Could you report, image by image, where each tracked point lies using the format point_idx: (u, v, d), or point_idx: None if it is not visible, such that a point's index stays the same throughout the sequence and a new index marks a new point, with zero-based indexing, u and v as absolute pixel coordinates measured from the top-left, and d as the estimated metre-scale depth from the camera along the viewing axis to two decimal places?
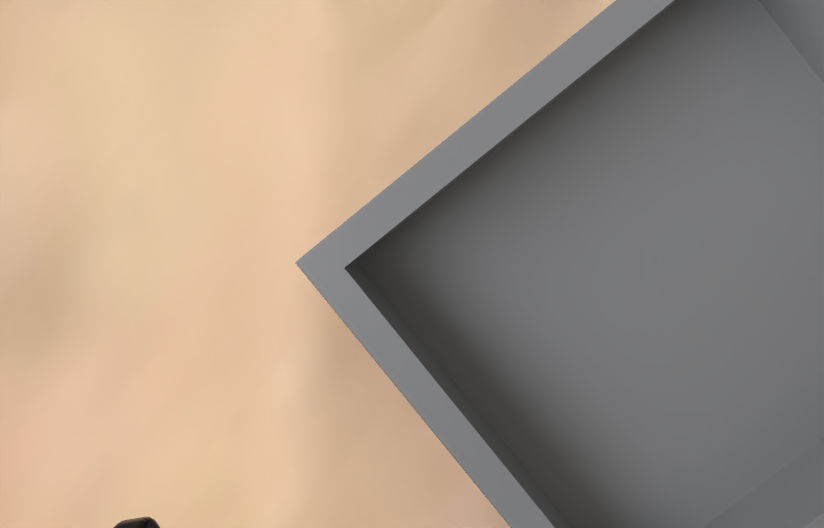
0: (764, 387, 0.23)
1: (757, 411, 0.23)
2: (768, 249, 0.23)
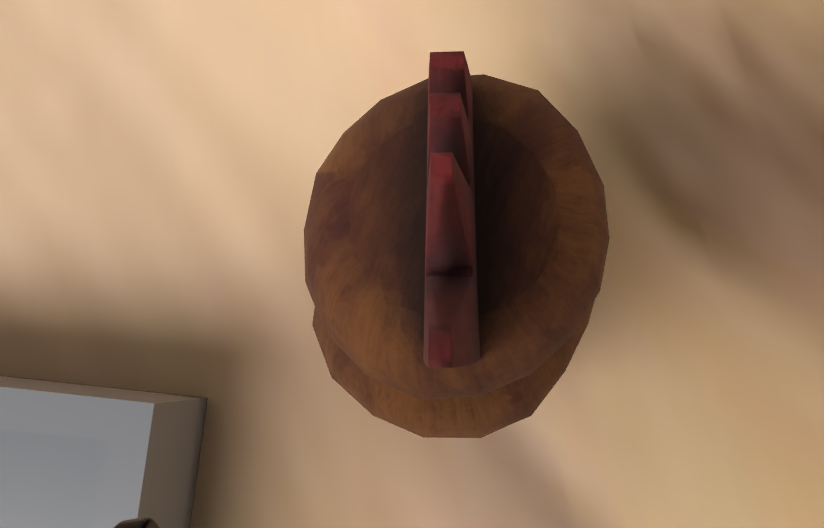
0: None
1: None
2: None
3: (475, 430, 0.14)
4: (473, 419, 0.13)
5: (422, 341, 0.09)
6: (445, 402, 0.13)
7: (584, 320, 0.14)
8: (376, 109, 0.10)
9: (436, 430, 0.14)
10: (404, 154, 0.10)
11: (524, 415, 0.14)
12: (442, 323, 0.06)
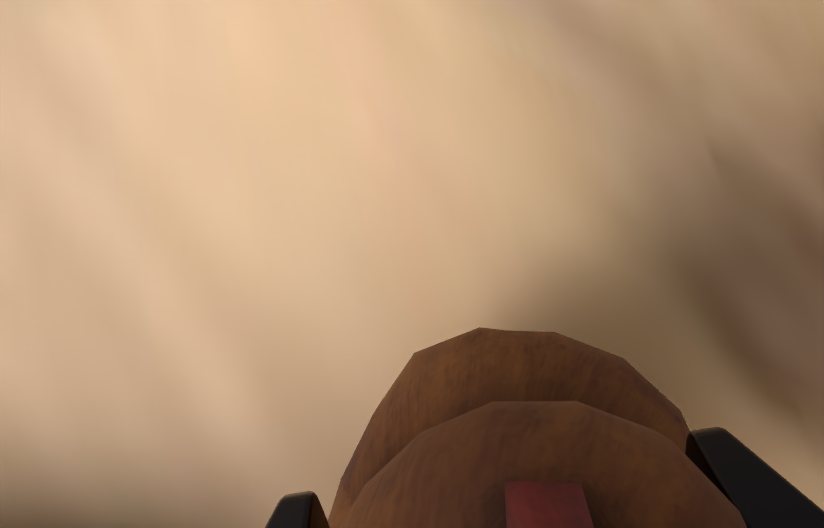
0: None
1: None
2: None
3: None
4: None
5: None
6: None
7: None
8: (415, 502, 0.06)
9: None
10: None
11: None
12: None
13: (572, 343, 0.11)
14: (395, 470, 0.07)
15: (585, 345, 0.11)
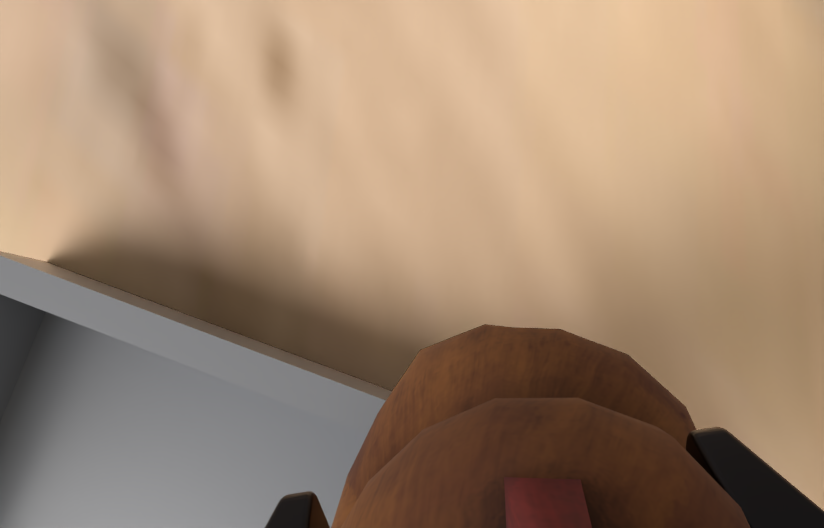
0: None
1: None
2: (225, 524, 0.22)
3: None
4: None
5: None
6: None
7: None
8: (416, 498, 0.06)
9: None
10: None
11: None
12: None
13: (577, 339, 0.11)
14: (397, 466, 0.07)
15: (590, 341, 0.11)
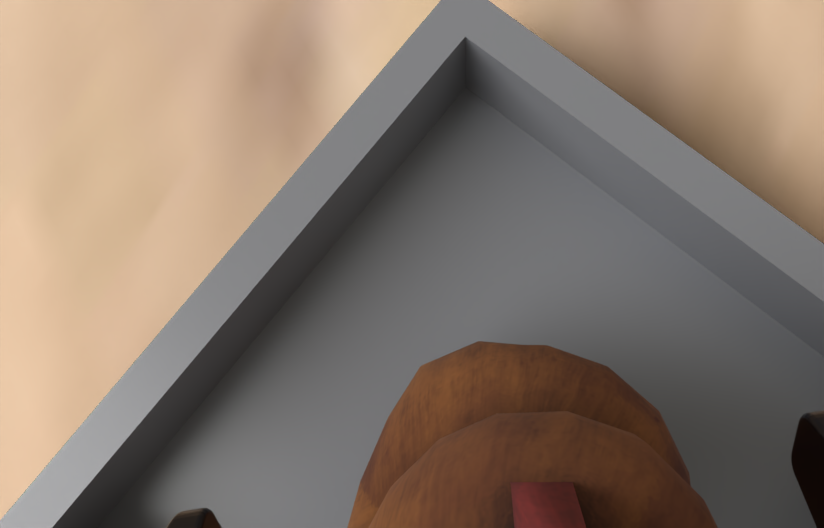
0: None
1: None
2: None
3: None
4: None
5: None
6: None
7: None
8: (437, 502, 0.07)
9: None
10: None
11: None
12: None
13: (562, 354, 0.12)
14: (418, 475, 0.08)
15: (574, 355, 0.12)
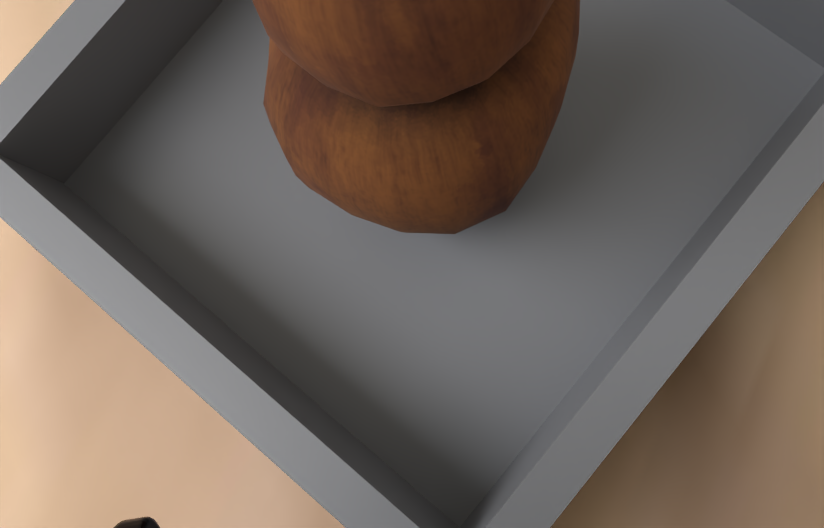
0: (574, 225, 0.18)
1: (574, 256, 0.18)
2: None
3: (443, 192, 0.12)
4: (439, 175, 0.12)
5: None
6: (407, 148, 0.12)
7: (560, 68, 0.12)
8: None
9: (399, 193, 0.12)
10: None
11: (497, 184, 0.13)
12: None
13: None
14: None
15: None
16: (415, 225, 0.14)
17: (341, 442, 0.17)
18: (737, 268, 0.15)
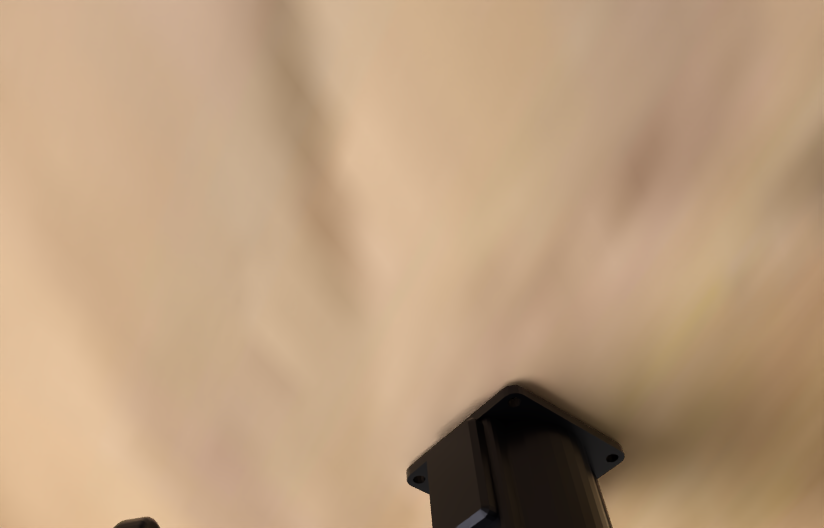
0: None
1: None
2: None
3: None
4: None
5: None
6: None
7: None
8: None
9: None
10: None
11: None
12: None
13: None
14: None
15: None
16: None
17: None
18: None
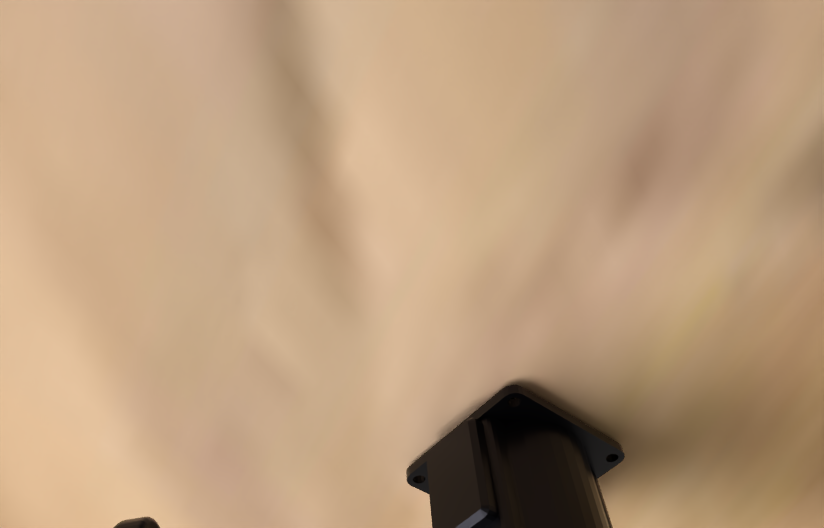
0: None
1: None
2: None
3: None
4: None
5: None
6: None
7: None
8: None
9: None
10: None
11: None
12: None
13: None
14: None
15: None
16: None
17: None
18: None
